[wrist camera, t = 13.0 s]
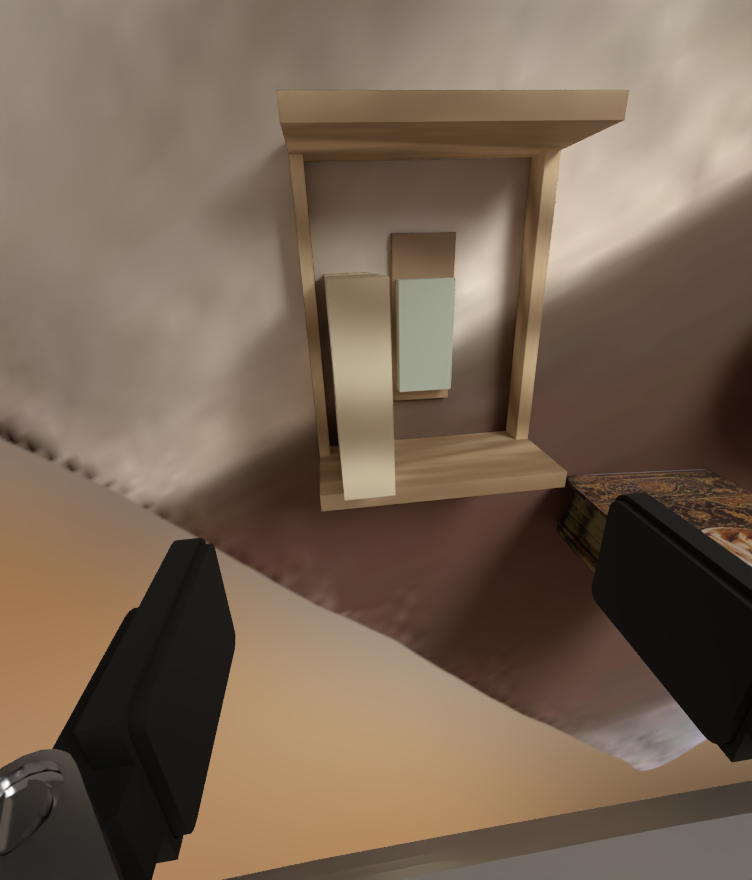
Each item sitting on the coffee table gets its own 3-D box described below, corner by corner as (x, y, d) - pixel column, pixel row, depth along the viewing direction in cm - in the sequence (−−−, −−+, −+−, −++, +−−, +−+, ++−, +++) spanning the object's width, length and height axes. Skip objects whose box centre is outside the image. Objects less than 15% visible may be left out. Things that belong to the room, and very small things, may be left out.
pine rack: (288, 139, 26) (276, 90, 19) (547, 135, 28) (629, 90, 20) (321, 459, 35) (321, 511, 28) (515, 442, 37) (564, 486, 29)
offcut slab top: (395, 279, 30) (398, 280, 28) (450, 277, 30) (455, 277, 29) (397, 387, 33) (399, 392, 32) (446, 384, 33) (450, 388, 32)
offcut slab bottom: (389, 234, 29) (392, 233, 28) (450, 233, 30) (455, 232, 29) (390, 396, 34) (392, 400, 33) (443, 393, 35) (447, 397, 34)
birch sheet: (323, 274, 29) (325, 279, 19) (365, 272, 30) (389, 276, 20) (337, 430, 34) (344, 500, 24) (373, 427, 34) (395, 495, 24)
